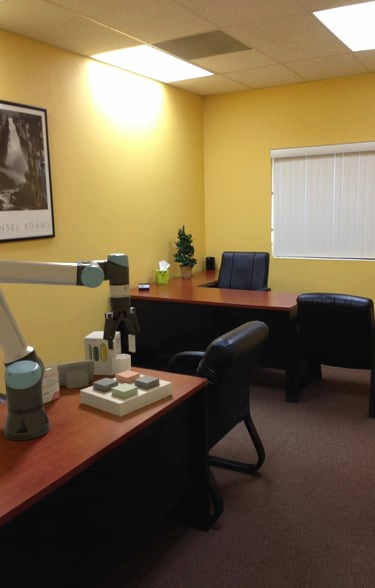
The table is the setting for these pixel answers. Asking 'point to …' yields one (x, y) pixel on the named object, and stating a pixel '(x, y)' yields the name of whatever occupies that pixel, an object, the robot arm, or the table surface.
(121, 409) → the keypad
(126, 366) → the white cup
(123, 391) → the key green
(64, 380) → the digital clock
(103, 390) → the charcoal key
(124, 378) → the key terracotta
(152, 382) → the charcoal key
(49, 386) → the ink cartridge box
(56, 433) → the table surface
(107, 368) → the supplement box
